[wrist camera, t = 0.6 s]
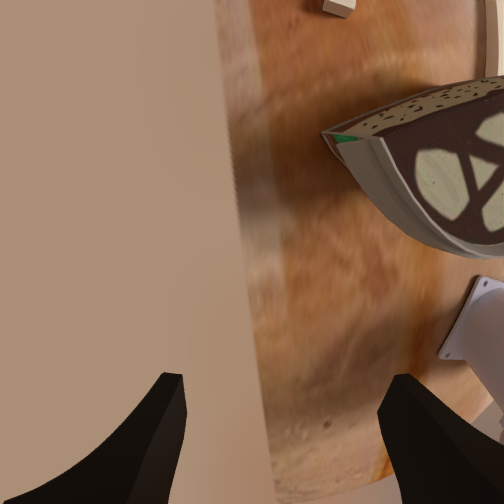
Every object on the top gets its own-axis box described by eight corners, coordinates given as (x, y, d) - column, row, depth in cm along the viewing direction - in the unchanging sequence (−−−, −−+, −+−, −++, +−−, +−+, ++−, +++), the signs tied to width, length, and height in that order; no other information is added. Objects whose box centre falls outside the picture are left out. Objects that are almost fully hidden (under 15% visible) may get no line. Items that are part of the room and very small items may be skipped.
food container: (338, 239, 17) (418, 340, 8) (294, 143, 15) (360, 146, 6) (482, 165, 15) (592, 198, 6) (455, 81, 14) (571, 69, 4)
